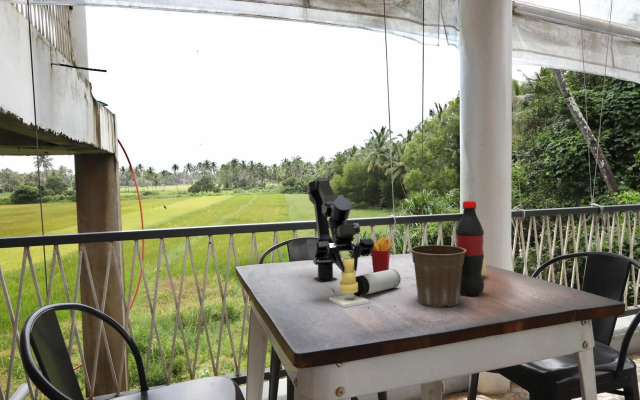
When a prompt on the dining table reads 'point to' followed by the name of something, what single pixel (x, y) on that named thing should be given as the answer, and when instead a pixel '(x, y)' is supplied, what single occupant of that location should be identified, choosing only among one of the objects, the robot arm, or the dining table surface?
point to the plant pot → (438, 274)
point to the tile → (349, 300)
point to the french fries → (381, 255)
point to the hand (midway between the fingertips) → (349, 270)
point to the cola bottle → (471, 250)
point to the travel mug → (377, 282)
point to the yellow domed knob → (348, 277)
